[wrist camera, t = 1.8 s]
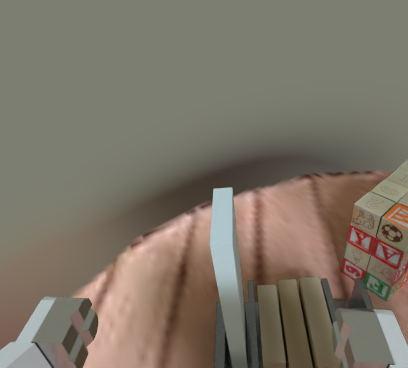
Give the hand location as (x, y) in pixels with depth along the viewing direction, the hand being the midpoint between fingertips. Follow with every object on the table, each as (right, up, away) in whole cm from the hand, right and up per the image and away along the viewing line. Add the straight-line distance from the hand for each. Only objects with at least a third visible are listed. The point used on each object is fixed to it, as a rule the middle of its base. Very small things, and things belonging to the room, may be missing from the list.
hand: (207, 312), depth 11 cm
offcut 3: (+12, -13, +23) cm, 29 cm away
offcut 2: (+9, -13, +24) cm, 29 cm away
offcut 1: (+7, -14, +24) cm, 29 cm away
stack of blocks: (+28, -4, +34) cm, 44 cm away
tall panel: (+4, -14, +25) cm, 28 cm away
